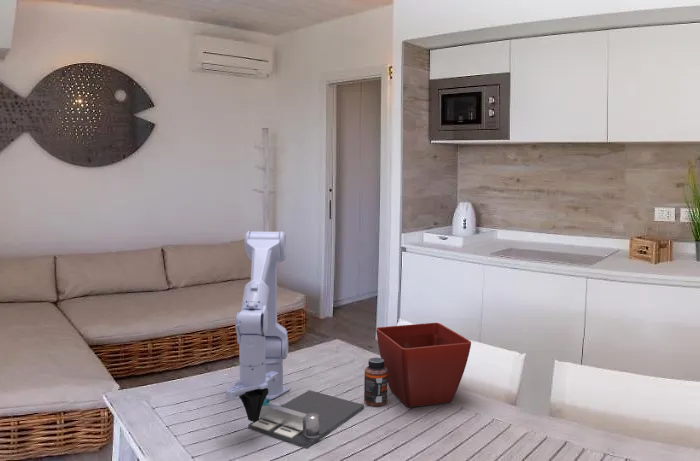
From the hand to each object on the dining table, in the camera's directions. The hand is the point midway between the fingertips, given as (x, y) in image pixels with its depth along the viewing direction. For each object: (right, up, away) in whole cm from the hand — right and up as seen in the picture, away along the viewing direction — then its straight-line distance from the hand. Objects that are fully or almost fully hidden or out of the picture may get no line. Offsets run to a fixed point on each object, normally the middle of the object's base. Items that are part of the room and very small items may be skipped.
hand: (253, 420), depth 133 cm
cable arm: (+6, -1, +3) cm, 7 cm away
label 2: (+8, -4, 0) cm, 9 cm away
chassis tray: (+12, -2, +9) cm, 15 cm away
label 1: (+3, -3, +4) cm, 6 cm away
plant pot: (+41, -1, +23) cm, 46 cm away
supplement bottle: (+29, -2, +18) cm, 34 cm away
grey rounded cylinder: (+14, -4, -1) cm, 14 cm away
